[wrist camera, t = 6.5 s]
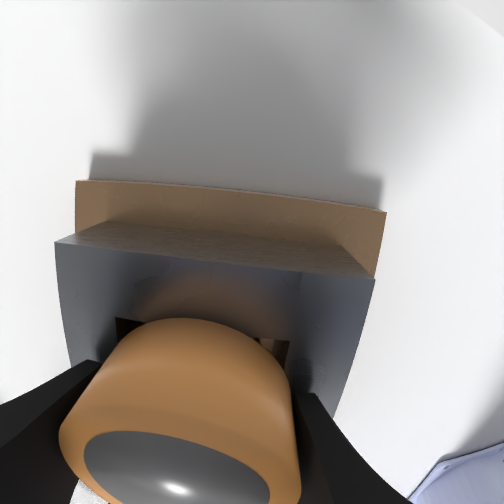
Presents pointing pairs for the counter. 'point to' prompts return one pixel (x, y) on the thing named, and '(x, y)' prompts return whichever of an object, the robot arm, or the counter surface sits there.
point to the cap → (186, 420)
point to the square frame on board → (221, 272)
